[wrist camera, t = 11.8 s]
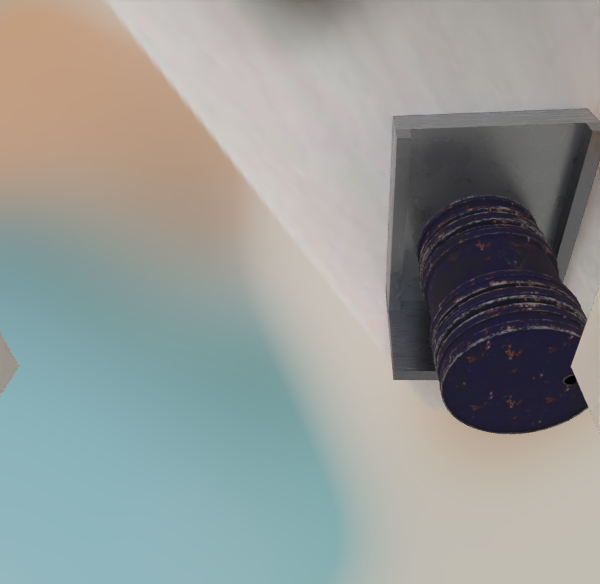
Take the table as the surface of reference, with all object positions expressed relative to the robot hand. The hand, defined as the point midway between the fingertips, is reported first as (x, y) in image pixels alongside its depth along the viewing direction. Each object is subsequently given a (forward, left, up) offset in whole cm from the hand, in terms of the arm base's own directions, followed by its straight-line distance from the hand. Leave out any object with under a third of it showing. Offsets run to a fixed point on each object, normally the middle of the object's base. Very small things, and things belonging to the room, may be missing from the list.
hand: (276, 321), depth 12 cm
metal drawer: (+17, +12, -32) cm, 38 cm away
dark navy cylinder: (+18, +12, -29) cm, 37 cm away
